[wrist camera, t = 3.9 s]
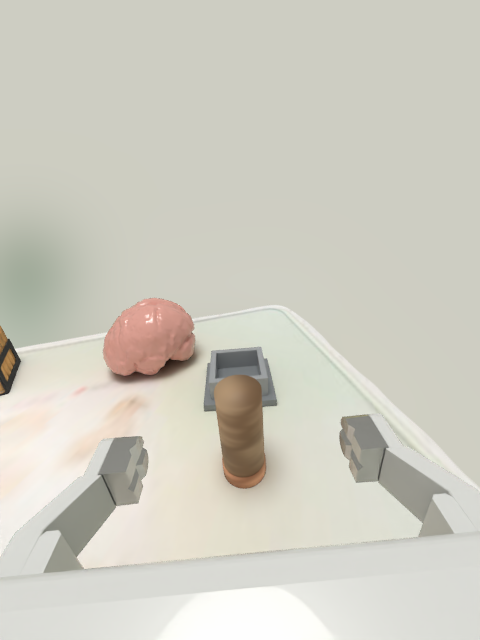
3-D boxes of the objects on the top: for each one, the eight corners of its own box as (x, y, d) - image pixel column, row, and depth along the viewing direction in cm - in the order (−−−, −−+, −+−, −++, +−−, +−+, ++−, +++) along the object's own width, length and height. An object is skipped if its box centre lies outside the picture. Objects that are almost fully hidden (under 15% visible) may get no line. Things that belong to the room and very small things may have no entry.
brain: (132, 409, 46) (77, 360, 40) (132, 365, 57) (89, 321, 51) (214, 356, 47) (174, 299, 41) (199, 323, 58) (165, 274, 51)
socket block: (204, 411, 39) (201, 388, 37) (208, 367, 48) (205, 348, 46) (276, 405, 39) (276, 382, 37) (267, 363, 48) (266, 343, 46)
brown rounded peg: (223, 490, 29) (211, 410, 24) (223, 451, 33) (213, 376, 28) (268, 486, 29) (265, 405, 24) (262, 447, 33) (259, 372, 28)
